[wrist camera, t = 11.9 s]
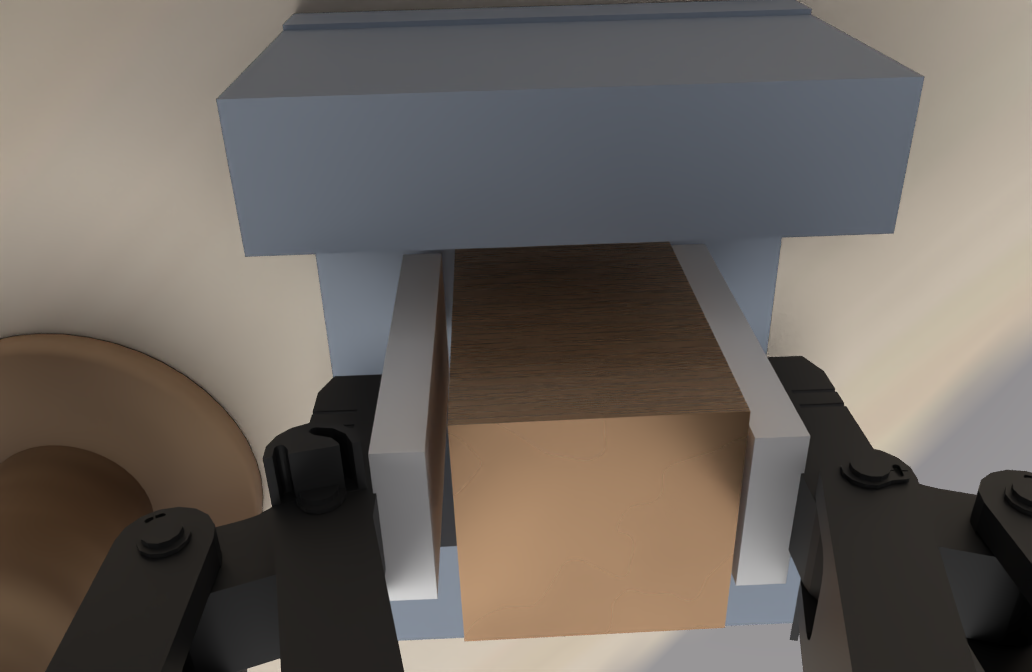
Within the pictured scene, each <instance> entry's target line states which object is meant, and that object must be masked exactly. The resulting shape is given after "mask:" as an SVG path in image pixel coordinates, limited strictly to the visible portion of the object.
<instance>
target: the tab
mask: <svg viewBox="0 0 1032 672" xmlns="http://www.w3.org/2000/svg"><path fill="white" fill-rule="evenodd" d="M750 412H751V411H750V409H749V407H748V405H747V403H746V401H745V399H744V396H743V394H742V392H741V390H740V388H739V386H738V384H737V382H736V380H735V378H734V376H733V374H732V371H731V369H730V367H729V365H728V363H727V361H726V359H725V357H724V355H723V353H722V351H721V349H720V346H719V344H718V342H717V340H716V338H715V336H714V334H713V332H712V330H711V328H710V326H709V323H708V321H707V319H706V317H705V315H704V313H703V311H702V309H701V307H700V305H699V303H698V301H697V298H696V296H695V294H694V292H693V290H692V288H691V286H690V284H689V282H688V280H687V278H686V275H685V273H684V271H683V269H682V267H681V265H680V263H679V261H678V259H677V257H676V255H675V253H674V250H673V248H672V246H671V244H670V242H669V241H667V242H640V243H612V244H584V245H556V246H528V247H500V248H472V249H455V263H454V286H453V309H452V333H451V356H450V379H449V402H448V438H449V451H450V463H451V476H452V489H453V501H454V514H455V527H456V539H457V552H458V565H459V577H460V590H461V603H462V615H463V628H464V641H480V640H499V639H518V638H537V637H556V636H575V635H594V634H613V633H633V632H652V631H671V630H690V629H709V628H724V627H725V622H726V613H727V605H728V597H729V588H730V580H731V572H732V563H733V555H734V546H735V538H736V530H737V521H738V513H739V504H740V496H741V488H742V479H743V471H744V463H745V454H746V446H747V437H748V429H749V421H750Z"/></svg>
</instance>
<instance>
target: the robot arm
mask: <svg viewBox="0 0 1032 672" xmlns="http://www.w3.org/2000/svg"><path fill="white" fill-rule="evenodd" d="M671 246H672V248H673V250H674V253H675V255H676V257H677V259H678V261H679V263H680V265H681V267H682V269H683V271H684V273H685V275H686V278H687V280H688V282H689V284H690V286H691V288H692V290H693V292H694V294H695V296H696V298H697V301H698V303H699V305H700V307H701V309H702V311H703V313H704V315H705V317H706V319H707V321H708V323H709V326H710V328H711V330H712V332H713V334H714V336H715V338H716V340H717V342H718V344H719V346H720V349H721V351H722V353H723V355H724V357H725V359H726V361H727V363H728V365H729V367H730V369H731V371H732V374H733V376H734V378H735V380H736V382H737V384H738V386H739V388H740V390H741V392H742V394H743V396H744V399H745V401H746V403H747V405H748V407H749V409H750V411H751V412H750V421H749V429H748V437H747V446H746V454H745V463H744V471H743V479H742V488H741V496H740V504H739V513H738V521H737V530H736V538H735V546H734V555H733V563H732V572H731V573H732V576H733V579H734V582H735V584H736V586H740V585H763V584H786V579H787V573H788V567H789V561H790V555H791V557H792V559H793V562H794V564H795V566H796V568H797V571H798V573H799V575H800V578H801V579H800V585H799V590H798V596H797V602H796V607H795V613H794V619H793V624H792V631H791V635H790V640H796V641H797V640H798V636H799V635H800V644H801V654H802V664H803V672H1032V473H1031V472H1027V471H1016V470H1004V471H998V472H993V473H990V474H989V475H987V476H986V477H985V478H983V479H982V480H981V482H980V486H979V489H978V493H977V495H974V494H968V493H962V492H956V491H950V490H943V489H938V488H934V487H929V486H925V485H922V484H919V482H918V479H917V477H916V476H915V474H914V472H913V471H912V469H911V468H910V467H909V466H908V465H906V464H905V463H904V462H903V461H901V460H900V459H899V458H897V457H895V456H893V455H890V454H888V453H885V452H883V451H881V450H876V449H873V447H872V446H871V444H870V443H869V441H868V440H867V438H866V436H865V435H864V433H863V432H862V430H861V429H860V427H859V425H858V424H857V422H856V421H855V419H854V418H853V416H852V415H851V413H850V411H849V410H848V408H847V407H846V406H844V402H843V400H842V399H841V397H840V396H839V394H838V393H837V392H835V388H834V386H833V385H832V383H831V382H830V380H829V379H828V377H827V376H826V374H825V372H824V371H823V370H821V369H820V368H819V367H817V366H816V365H814V364H813V363H811V362H810V361H808V360H807V359H806V358H804V357H803V356H790V357H767V356H766V354H765V353H764V351H763V349H762V347H761V345H760V343H759V342H758V340H757V338H756V336H755V334H754V333H753V331H752V329H751V327H750V325H749V323H748V322H747V320H746V318H745V316H744V314H743V313H742V311H741V309H740V307H739V305H738V303H737V302H736V300H735V298H734V296H733V294H732V292H731V291H730V289H729V287H728V285H727V283H726V282H725V280H724V278H723V276H722V274H721V272H720V271H719V269H718V267H717V265H716V263H715V262H714V260H713V258H712V256H711V254H710V252H709V251H708V249H707V247H706V245H705V244H689V245H671ZM448 389H449V356H448V342H447V327H446V313H445V298H444V284H443V269H442V255H441V253H438V254H411V255H403V259H402V265H401V270H400V276H399V282H398V287H397V293H396V299H395V304H394V310H393V316H392V321H391V327H390V333H389V338H388V344H387V350H386V356H385V361H384V367H383V373H382V374H377V375H351V376H334V377H333V378H332V379H331V380H330V381H329V382H328V383H327V384H326V385H325V386H324V387H323V388H322V389H321V390H320V391H319V392H318V395H317V399H316V402H315V406H314V409H313V415H312V416H311V420H310V423H308V424H304V425H301V426H297V427H294V428H291V429H289V430H287V431H285V432H283V433H281V434H280V435H278V436H276V437H275V438H274V439H273V440H272V441H271V442H270V443H269V444H268V445H267V446H266V449H265V452H264V456H263V462H264V467H265V473H266V478H267V483H268V488H269V493H270V498H271V503H272V507H271V508H270V509H268V510H266V511H264V512H262V513H260V514H259V515H256V516H253V517H250V518H248V519H245V520H241V521H238V522H234V523H230V524H226V525H222V526H218V527H215V524H214V523H213V521H212V519H211V518H210V516H209V515H208V514H206V513H204V512H202V511H200V510H198V509H196V508H187V507H174V508H167V509H161V510H157V511H155V512H152V513H150V514H147V515H145V516H142V517H140V518H138V519H137V520H136V521H134V522H133V523H131V524H130V525H128V526H127V527H125V528H124V529H123V531H122V532H121V533H120V534H119V536H118V537H117V538H116V539H115V540H114V542H113V544H112V546H111V548H110V550H109V552H108V554H107V555H106V557H105V559H104V561H103V563H102V565H101V567H100V569H99V571H98V573H97V574H96V576H95V578H94V580H93V582H92V584H91V586H90V588H89V590H88V591H87V593H86V595H85V597H84V599H83V601H82V603H81V605H80V607H79V608H78V610H77V612H76V614H75V616H74V618H73V620H72V622H71V624H70V626H69V627H68V629H67V631H66V633H65V635H64V637H63V639H62V641H61V643H60V644H59V646H58V648H57V650H56V652H55V654H54V656H53V658H52V660H51V661H50V663H49V665H48V667H47V669H46V671H45V672H247V668H251V667H254V666H257V665H260V664H263V663H266V662H270V661H273V660H276V659H279V658H280V659H281V672H404V669H403V664H402V659H401V654H400V649H399V644H398V639H397V634H396V629H395V624H394V619H393V614H392V609H391V604H390V601H399V600H422V599H438V580H439V561H440V542H441V523H442V504H443V485H444V465H445V446H446V427H447V408H448Z"/></svg>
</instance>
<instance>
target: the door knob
mask: <svg viewBox="0 0 1032 672" xmlns="http://www.w3.org/2000/svg"><path fill="white" fill-rule="evenodd" d="M262 506H263V491H262V483H261V477H260V473H259V470H258V466H257V463H256V459H255V457H254V455H253V453H252V451H251V448H250V446H249V444H248V442H247V440H246V439H245V437H244V436H243V434H242V432H241V431H240V429H239V428H238V426H237V425H236V423H235V422H234V421H233V420H232V418H231V417H230V416H229V415H228V414H227V412H226V411H225V410H224V409H223V408H222V407H221V406H220V405H219V404H218V403H217V402H216V401H215V400H214V399H213V398H212V397H211V396H210V395H209V394H208V393H207V392H206V391H204V390H203V389H202V388H200V387H199V386H198V385H196V384H195V383H194V382H192V381H191V380H190V379H188V378H187V377H186V376H184V375H183V374H181V373H179V372H178V371H176V370H174V369H173V368H171V367H169V366H168V365H166V364H164V363H162V362H160V361H158V360H156V359H154V358H151V357H149V356H147V355H145V354H143V353H141V352H138V351H135V350H132V349H129V348H126V347H123V346H121V345H118V344H115V343H110V342H106V341H102V340H98V339H93V338H89V337H81V336H73V335H65V334H31V335H20V336H12V337H7V338H3V339H0V672H45V671H46V669H47V667H48V665H49V663H50V661H51V660H52V658H53V656H54V654H55V652H56V650H57V648H58V646H59V644H60V643H61V641H62V639H63V637H64V635H65V633H66V631H67V629H68V627H69V626H70V624H71V622H72V620H73V618H74V616H75V614H76V612H77V610H78V608H79V607H80V605H81V603H82V601H83V599H84V597H85V595H86V593H87V591H88V590H89V588H90V586H91V584H92V582H93V580H94V578H95V576H96V574H97V573H98V571H99V569H100V567H101V565H102V563H103V561H104V559H105V557H106V555H107V554H108V552H109V550H110V548H111V546H112V544H113V542H114V540H115V539H116V538H117V537H118V536H119V534H120V533H121V532H122V531H123V529H124V528H125V527H127V526H128V525H130V524H131V523H133V522H134V521H136V520H137V519H138V518H140V517H142V516H145V515H147V514H150V513H152V512H155V511H157V510H161V509H167V508H174V507H187V508H196V509H198V510H200V511H202V512H204V513H206V514H208V515H209V516H210V518H211V519H212V521H213V523H214V524H215V527H218V526H222V525H226V524H230V523H234V522H238V521H241V520H245V519H248V518H250V517H253V516H256V515H259V514H260V513H262Z"/></svg>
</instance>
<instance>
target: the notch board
mask: <svg viewBox="0 0 1032 672" xmlns="http://www.w3.org/2000/svg"><path fill="white" fill-rule="evenodd" d="M811 11H812V9H811V8H809V7H807V6H805V5H804V4H802V3H800V2H798V1H796V0H730V1H696V2H663V3H630V4H597V5H564V6H531V7H497V8H464V9H431V10H398V11H365V12H332V13H298V14H293V15H292V16H291V17H290V18H289V19H288V20H287V21H286V22H285V23H284V24H283V31H282V32H281V34H280V35H279V36H278V37H277V38H276V39H275V40H274V41H273V42H272V43H271V44H270V45H269V46H268V47H267V48H266V49H265V50H264V51H263V52H262V53H261V54H260V55H259V56H258V57H257V58H256V59H255V60H254V61H253V62H252V63H251V64H250V65H249V66H248V67H247V68H246V69H245V70H244V71H243V72H242V73H241V75H240V76H239V77H238V78H237V79H236V80H235V81H234V82H233V83H232V84H231V85H230V86H229V87H228V88H227V89H226V90H225V91H224V92H223V93H222V94H221V95H220V96H219V97H218V98H217V99H216V101H217V106H218V112H219V117H220V123H221V128H222V133H223V139H224V144H225V150H226V155H227V160H228V166H229V171H230V177H231V182H232V187H233V193H234V198H235V204H236V209H237V214H238V220H239V225H240V231H241V236H242V241H243V247H244V252H245V257H248V256H276V255H304V254H316V261H317V268H318V275H319V282H320V289H321V296H322V303H323V310H324V317H325V324H326V330H327V337H328V344H329V351H330V358H331V365H332V372H333V377H334V376H351V375H377V374H382V373H383V367H384V361H385V356H386V350H387V344H388V338H389V333H390V327H391V321H392V316H393V310H394V304H395V299H396V293H397V287H398V282H399V276H400V270H401V265H402V259H403V255H411V254H438V253H441V255H442V269H443V284H444V298H445V313H446V327H447V342H448V356H449V379H450V356H451V333H452V309H453V286H454V263H455V249H472V248H500V247H528V246H556V245H584V244H612V243H640V242H667V241H669V242H670V244H671V245H689V244H705V245H706V247H707V249H708V251H709V252H710V254H711V256H712V258H713V260H714V262H715V263H716V265H717V267H718V269H719V271H720V272H721V274H722V276H723V278H724V280H725V282H726V283H727V285H728V287H729V289H730V291H731V292H732V294H733V296H734V298H735V300H736V302H737V303H738V305H739V307H740V309H741V311H742V313H743V314H744V316H745V318H746V320H747V322H748V323H749V325H750V327H751V329H752V331H753V333H754V334H755V336H756V338H757V340H758V342H759V343H760V345H761V347H762V349H763V351H764V353H765V354H767V346H768V338H769V331H770V323H771V316H772V308H773V300H774V293H775V285H776V278H777V270H778V262H779V255H780V247H781V239H782V237H807V236H835V235H863V234H891V233H894V229H895V224H896V219H897V214H898V209H899V203H900V198H901V193H902V188H903V183H904V178H905V173H906V168H907V163H908V158H909V153H910V147H911V142H912V137H913V132H914V127H915V122H916V117H917V112H918V107H919V102H920V96H921V91H922V86H923V81H924V76H922V75H920V74H919V73H917V72H915V71H913V70H911V69H909V68H908V67H906V66H904V65H902V64H900V63H899V62H897V61H895V60H893V59H891V58H889V57H888V56H886V55H884V54H882V53H880V52H879V51H877V50H875V49H873V48H871V47H869V46H868V45H866V44H864V43H862V42H860V41H859V40H857V39H855V38H853V37H851V36H849V35H848V34H846V33H844V32H842V31H840V30H839V29H837V28H835V27H833V26H831V25H829V24H828V23H826V22H824V21H822V20H820V19H819V18H817V17H815V16H813V15H811ZM448 402H449V389H448ZM800 579H801V578H800V575H799V573H798V571H797V568H796V566H795V564H794V562H793V559H792V557H791V555H790V561H789V567H788V573H787V579H786V584H763V585H740V586H736V584H735V582H734V579H733V576H732V573H731V580H730V588H729V597H728V605H727V613H726V622H725V626H733V625H754V624H755V625H757V624H779V623H793V619H794V613H795V607H796V602H797V596H798V590H799V585H800ZM390 604H391V609H392V614H393V619H394V624H395V629H396V634H397V639H398V641H399V640H422V639H444V638H464V628H463V615H462V603H461V590H460V577H459V565H458V552H457V539H456V527H455V514H454V501H453V489H452V476H451V463H450V451H449V438H448V408H447V427H446V446H445V465H444V485H443V504H442V523H441V542H440V561H439V580H438V599H422V600H399V601H390Z"/></svg>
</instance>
